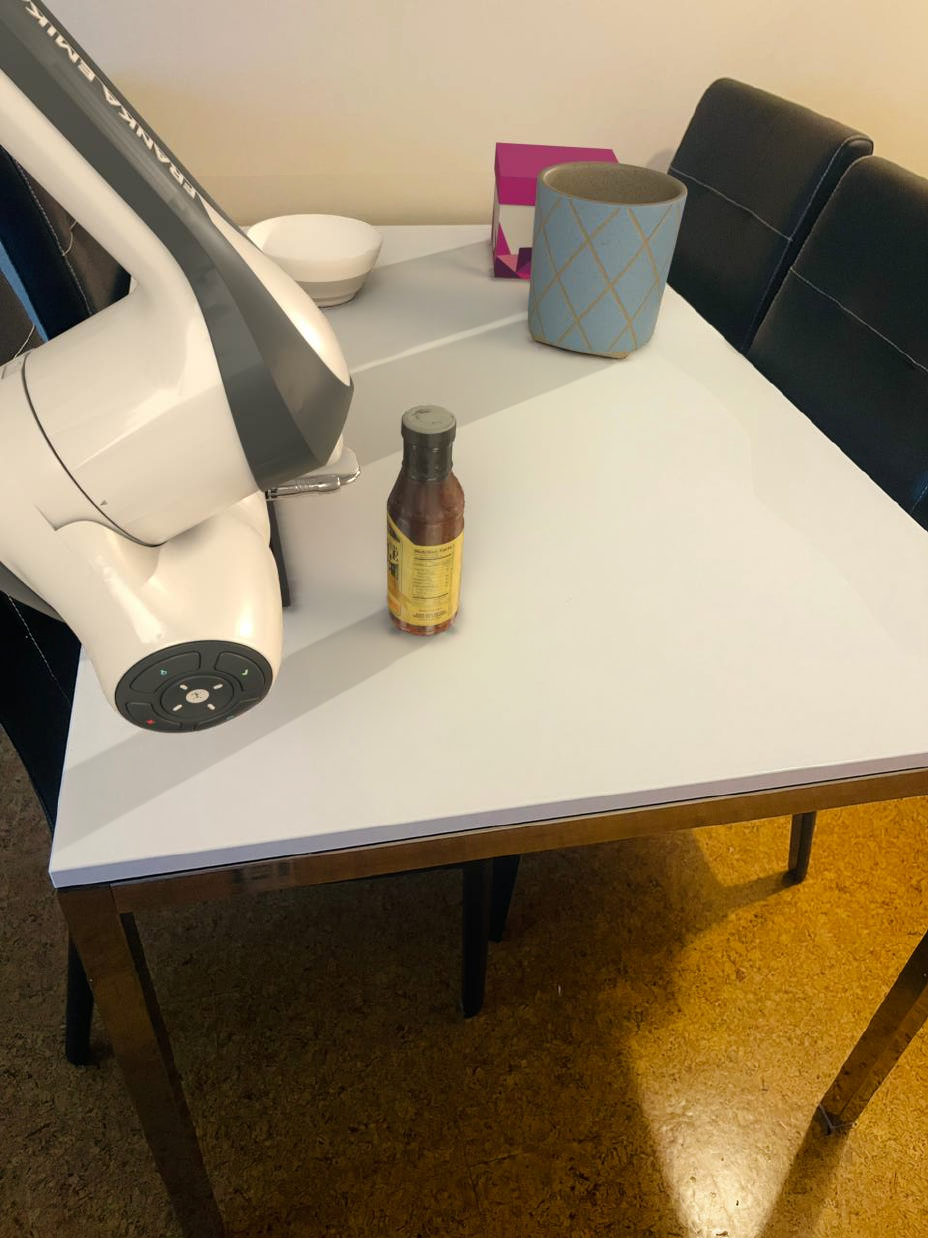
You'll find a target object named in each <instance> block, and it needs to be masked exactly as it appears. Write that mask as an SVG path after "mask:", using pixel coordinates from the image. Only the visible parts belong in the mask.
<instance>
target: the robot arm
mask: <svg viewBox="0 0 928 1238" xmlns="http://www.w3.org/2000/svg"><path fill="white" fill-rule="evenodd" d="M0 145H1V147H2V148H3V149H4V150H5V151H6V152H7V153H8V154H9V155H10V156H11V157H12V158H13V159H14V160H16V162H17V163H18V164H19V165H20V166H21V167H22V168H23V169H24V170H25V171H26V172H27V173H28V174H29V175H30V176H31V177H32V178H33V179H34V180H35V181H36V182H37V183H38V184H39V185H40V186H41V187H42V188H43V189H44V190H45V191H46V192H47V193H48V194H49V195H50V196H51V197H52V198H53V199H54V200H55V201H56V202H57V203H58V204H59V205H60V206H61V207H63V209H64V210H65V211H66V212H67V213H68V214H69V215H70V216H71V217H72V218H73V219H74V220H75V221H76V222H77V223H78V224H79V225H80V226H81V227H82V228H83V229H84V230H85V231H86V232H87V233H88V234H89V235H90V236H91V238H93V239H94V240H95V241H96V242H97V243H98V244H99V245H100V246H101V247H102V248H103V249H104V250H105V251H106V252H107V253H108V254H109V255H110V256H111V257H112V258H113V259H114V260H115V261H116V262H117V263H118V264H119V265H120V266H121V267H122V268H123V269H124V270H125V271H126V273H128V274H129V275H130V276H131V277H132V278H133V279H134V280H135V281H136V282H137V284H136V286H135V287H134V289H133V290H132V291H131V292H130V293H128V294H127V295H126V296H124V297H122V298H121V299H120V300H119V299H118V301H115V302H114V303H112V304H111V305H109V306H107V307H105V308H104V309H102V310H100V311H98V312H97V313H95V314H93V315H92V316H90V317H88V318H86V319H85V320H83V321H81V322H80V323H78V324H76V325H74V326H73V327H71V328H68V330H66V331H64V332H63V333H61V334H59V335H57V336H55V337H54V338H52V339H50V340H49V341H47V342H45V343H43V344H41V345H39V346H38V347H36V348H31V349H29V350H27V351H25V352H23V353H22V354H20V355H18V356H16V357H15V358H13V359H11V360H10V361H8V362H6V363H4V364H2V365H1V366H0V591H1V592H3V593H4V594H6V595H8V596H9V597H11V598H12V599H15V600H17V601H18V602H21V603H23V604H24V605H26V606H29V607H31V608H32V609H35V610H36V611H37V612H38V611H39V612H40V613H43V614H45V615H46V616H49V617H50V618H53V619H55V620H57V621H59V622H61V623H65V624H66V625H67V626H68V627H69V628H70V629H71V631H72V632H73V633H74V634H75V636H76V637H77V639H78V640H79V642H80V643H81V645H82V646H83V648H84V649H85V651H86V653H87V655H88V657H89V659H90V661H91V665H92V667H93V669H94V671H95V674H96V677H97V679H98V682H99V685H100V688H101V690H102V693H103V695H104V697H105V699H106V701H107V703H108V705H110V707H111V708H112V709H113V711H115V713H116V714H117V715H119V717H121V718H122V719H123V720H124V721H126V722H127V723H129V724H131V725H133V726H135V727H137V728H139V729H143V730H146V731H149V732H154V733H161V734H188V733H195V732H201V731H206V730H209V729H212V728H215V727H219V726H220V725H223V724H225V723H227V722H229V721H231V720H234V719H235V718H237V717H240V716H241V715H243V714H245V713H247V712H248V711H249V710H251V709H253V708H254V707H256V706H257V705H259V704H260V703H262V701H264V700H265V699H266V697H267V696H268V695H269V694H270V692H271V690H272V688H273V687H274V685H275V684H276V683H275V682H276V681H277V678H278V675H279V673H280V667H281V664H282V656H283V646H284V644H283V643H284V618H283V617H284V616H283V607H282V601H281V592H280V584H279V577H278V571H277V566H276V562H275V559H274V556H273V554H272V552H271V550H270V548H269V542H270V523H269V517H268V511H267V505H266V501H271V500H273V501H279V500H291V499H302V498H312V497H313V498H314V497H318V496H324V495H331V494H335V493H338V492H340V491H341V487H345V486H348V485H350V484H352V483H355V482H358V480H359V478H360V475H361V467H360V463H359V461H358V458H357V456H356V453H355V452H354V451H353V450H352V449H350V448H349V447H347V446H344V435H343V433H344V432H343V430H344V427H345V424H346V422H347V419H348V415H349V412H350V408H351V405H352V401H353V396H354V392H355V384H354V381H353V378H352V376H351V374H350V371H349V366H348V363H347V359H346V357H345V354H344V351H343V349H342V346H341V344H340V342H339V340H338V337H337V335H336V334H335V331H334V330H333V328H332V326H331V325H330V323H329V321H328V319H327V318H326V317H325V315H324V314H323V312H322V311H321V309H320V307H317V306H316V304H315V303H314V302H313V301H312V299H311V298H310V297H309V296H308V295H307V294H306V292H305V291H304V290H303V289H302V288H301V287H300V286H299V285H298V284H297V283H296V282H295V281H294V280H293V279H292V278H291V277H290V276H289V275H288V274H286V273H285V272H284V271H283V270H282V269H281V268H280V267H278V266H277V265H276V264H275V263H274V262H273V261H271V260H270V259H269V258H268V257H267V256H266V255H265V254H264V253H263V252H262V251H261V250H260V249H259V248H258V247H257V246H256V244H255V243H254V242H253V241H252V240H251V239H250V238H249V237H248V236H247V235H246V234H245V233H246V232H244V230H242V228H241V227H240V226H239V225H237V224H236V222H235V221H234V220H233V219H232V218H231V217H230V216H229V215H228V214H227V213H226V211H224V210H223V209H222V207H221V206H220V205H219V204H218V202H216V201H215V200H214V198H213V197H212V196H211V195H210V193H208V191H207V190H206V189H205V188H204V187H203V186H202V185H201V184H200V183H199V181H198V180H197V179H196V178H195V177H194V175H193V174H192V173H191V172H190V171H189V170H188V169H187V168H186V167H185V165H184V164H183V163H182V162H181V161H180V160H179V158H178V157H177V156H176V155H175V154H174V152H173V151H172V150H171V149H170V148H169V147H168V145H167V144H166V143H165V142H164V141H163V140H162V138H161V137H160V136H159V135H158V133H156V131H155V130H154V128H152V127H151V126H150V125H149V123H148V122H147V121H146V120H145V119H144V118H143V116H142V115H141V114H140V113H139V111H137V109H136V108H135V107H134V106H133V105H132V104H131V102H130V101H129V100H128V99H127V98H126V97H125V95H124V94H123V93H122V92H121V91H120V90H119V88H117V87H116V85H115V84H114V83H113V82H112V81H111V79H110V77H108V76H107V75H106V74H105V72H104V71H103V70H102V69H101V68H100V67H99V65H97V63H96V62H95V61H94V59H93V58H92V57H91V56H90V55H89V54H88V53H87V52H86V50H85V49H84V48H83V47H82V45H81V44H80V43H79V42H78V41H77V40H76V38H74V37H73V35H72V34H71V33H70V32H69V30H68V29H66V27H65V26H64V25H63V24H62V22H61V21H60V20H59V19H58V18H57V17H56V16H55V14H54V13H52V11H51V10H50V9H49V7H47V5H46V4H45V3H44V2H43V1H42V0H0Z"/></svg>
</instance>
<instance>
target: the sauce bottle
mask: <svg viewBox="0 0 928 1238" xmlns="http://www.w3.org/2000/svg"><path fill="white" fill-rule="evenodd" d="M400 420H401V421H400V422H401V423H400V435H401V437H402V449H403V450H402V461H401V467H400V470H399V473H398V474H397V477H396V480H395V483H394V485H393V487H392V489H391V491H390V493H389V495H388V498H387V500H386V578H387V579H386V582H387V583H386V592H387V593H386V596H387V599H386V601H387V607H388V610H389V616H390V617H391V620H392V622H393V624H394V625H395V626H396V627H397V629H400V630H401V631H405V632H407V633H409V634H412V635H416V636H432V635H437V634H441V633H444V632H446V630H447V629H449V628H450V627H451V626H452V624H453V623H454V622H455V620H456V618H457V615H458V609H459V604H460V603H459V602H460V596H461V580H462V565H463V548H464V535H465V517H464V513H465V506H466V505H465V504H466V500H465V492H464V490H463V487H462V484H461V483H460V481H459V479H458V477H457V476H456V475H455V474H454V471H453V468H454V461H453V446H454V442H455V440H456V437H457V417H456V416H455V414H454V413H453V412H452V411H450V410H448V409H447V408H445V407H443V406H438V405H434V404H433V405H432V404H425V405H418V406H414V407H411V408H410V409H408V410H406V411H405V412H404V413H403V414H402V416H401V419H400Z"/></svg>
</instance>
